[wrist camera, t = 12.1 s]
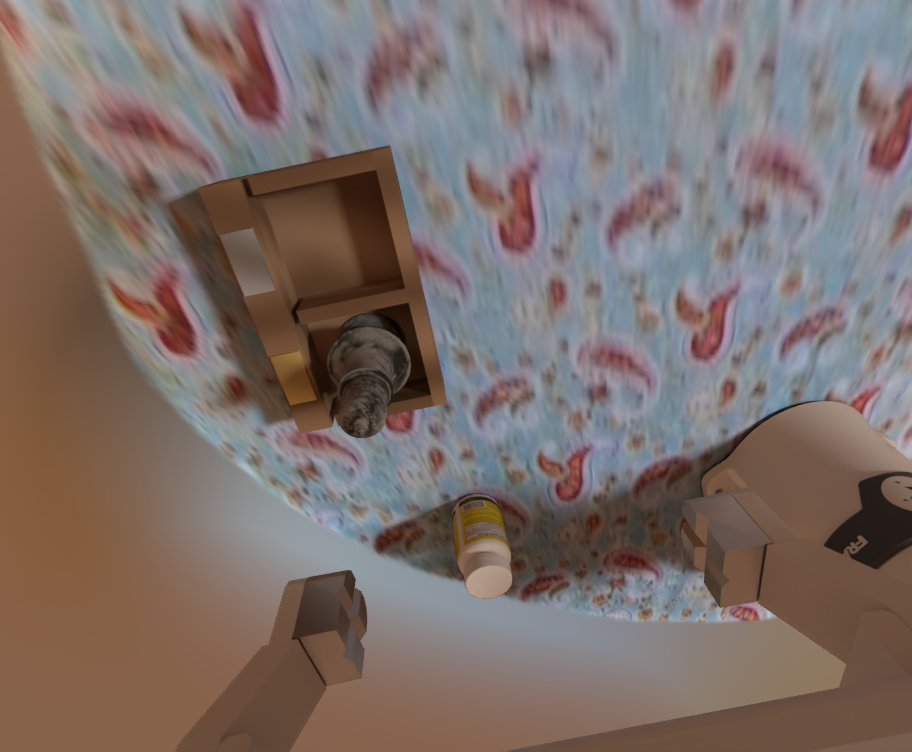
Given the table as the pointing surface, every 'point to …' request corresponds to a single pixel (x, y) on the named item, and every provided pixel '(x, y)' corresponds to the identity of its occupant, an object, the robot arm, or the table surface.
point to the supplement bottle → (482, 546)
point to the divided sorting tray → (325, 272)
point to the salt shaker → (367, 371)
